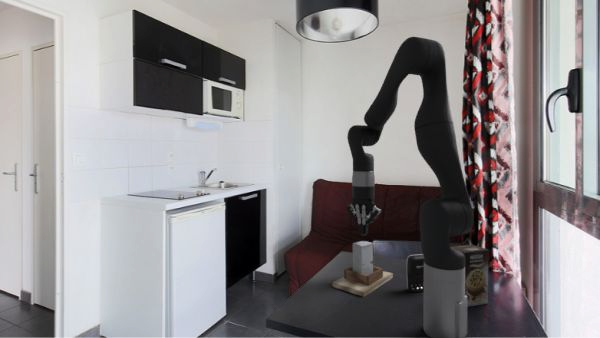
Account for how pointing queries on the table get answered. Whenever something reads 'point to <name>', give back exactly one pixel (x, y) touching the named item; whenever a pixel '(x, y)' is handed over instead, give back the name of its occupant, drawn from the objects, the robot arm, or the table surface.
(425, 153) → the robot arm
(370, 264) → the skincare box
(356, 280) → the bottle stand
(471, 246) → the coffee box
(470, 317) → the table surface
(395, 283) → the table surface
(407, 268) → the battery charger
